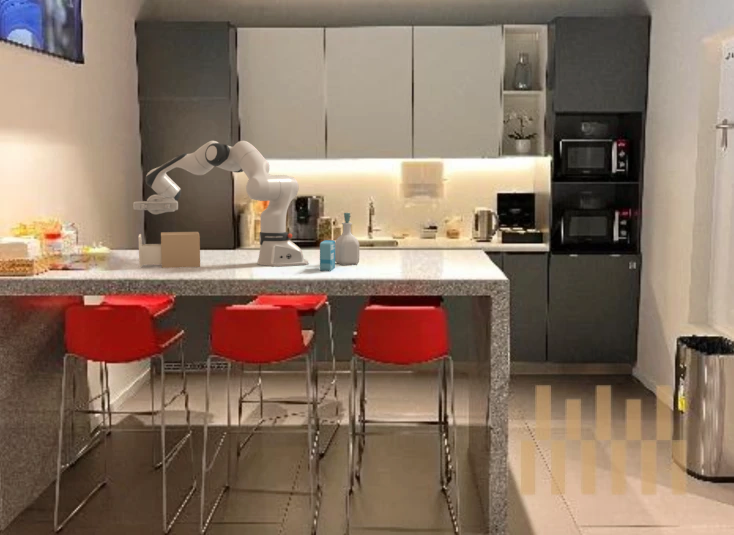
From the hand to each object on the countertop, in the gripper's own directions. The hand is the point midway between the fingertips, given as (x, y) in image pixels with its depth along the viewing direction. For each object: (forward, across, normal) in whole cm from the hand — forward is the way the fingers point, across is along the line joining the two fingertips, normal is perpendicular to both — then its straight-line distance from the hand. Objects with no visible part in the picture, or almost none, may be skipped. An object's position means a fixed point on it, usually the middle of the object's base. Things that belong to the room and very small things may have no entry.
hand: (155, 206), depth 371 cm
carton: (+25, +10, +24) cm, 36 cm away
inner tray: (+23, +1, +23) cm, 32 cm away
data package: (+49, +70, +24) cm, 89 cm away
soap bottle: (+33, +82, +24) cm, 92 cm away
